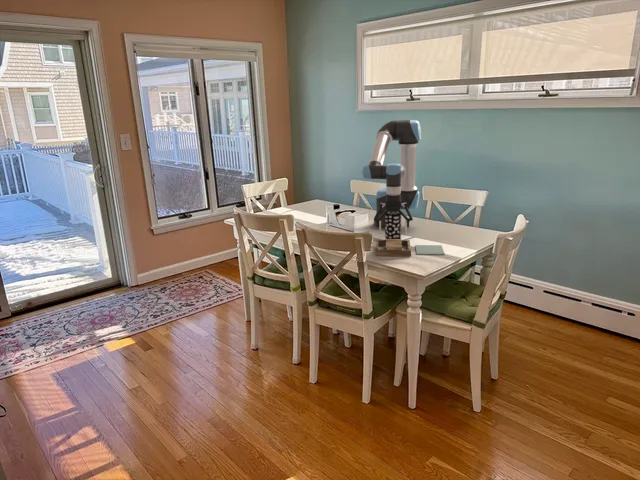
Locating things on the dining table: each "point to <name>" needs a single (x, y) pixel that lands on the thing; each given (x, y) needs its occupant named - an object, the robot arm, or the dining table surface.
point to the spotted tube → (392, 225)
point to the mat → (429, 250)
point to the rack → (393, 252)
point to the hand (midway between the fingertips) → (392, 233)
